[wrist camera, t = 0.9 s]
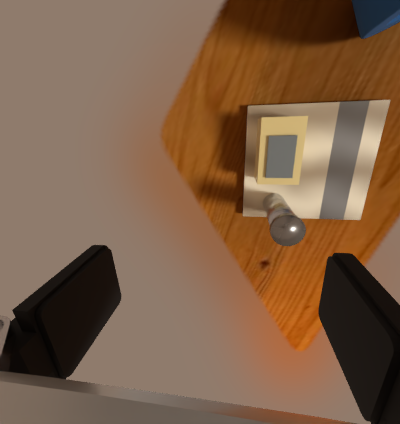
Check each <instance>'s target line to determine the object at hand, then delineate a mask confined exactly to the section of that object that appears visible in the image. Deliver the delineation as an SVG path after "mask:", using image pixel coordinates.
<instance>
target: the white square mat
mask: <svg viewBox="0 0 400 424" xmlns="http://www.w3.org/2000/svg"><path fill="white" fill-rule="evenodd" d="M389 103H390V100H373V101H350V102H326V103H303V104H280V105H256V106H248V109H247V130H246V151H245V173H244V194H243V216H254V217H267V215H266V213H265V210H264V207H263V201H264V199H265V197H266V196H267V195H269V194H272V193H277V194H280V195H281V196H282V197H283V198H284V200H285V201H286V202H287V204H288V205H289V207H290V208H291V210H292V211H293V213H294V214H295V215H297V216H298V217H299V218H314V219H344V220H360V219H361V215H362V211H363V207H364V203H365V199H366V195H367V191H368V187H369V183H370V179H371V175H372V171H373V167H374V163H375V159H376V155H377V151H378V147H379V143H380V139H381V135H382V131H383V127H384V123H385V119H386V115H387V111H388V107H389ZM289 116H308V122H307V129H306V136H305V144H304V151H303V158H302V166H301V173H300V180H299V185H270V184H257V183H256V180H255V178H254V175H255V159H256V143H257V128H258V119H260V118H262V117H289Z"/></svg>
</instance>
